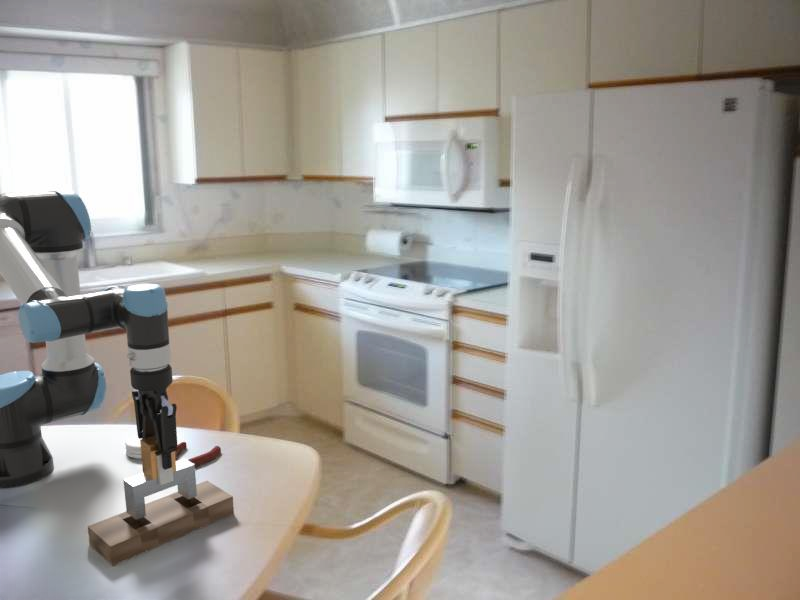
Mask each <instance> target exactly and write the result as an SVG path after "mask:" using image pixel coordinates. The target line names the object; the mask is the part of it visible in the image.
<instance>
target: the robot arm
mask: <svg viewBox="0 0 800 600" xmlns="http://www.w3.org/2000/svg"><path fill="white" fill-rule="evenodd" d="M91 231H92V224H91V218H90V215H89V211H88V208H87V206H86V205H85V202H84V200H83V199H82V197H81V196H80V195H79V194H77V192H75V191H73V190H66V189H63V190H62V189H61V190H59V189H50V190H38V191H37V190H35V191H25V192H5V193H0V275H1V276H2V278H3V280H4V282H5V283H6V284H7V286H9V289H11V291H12V293H13V294H14V296H15V297H16V299H17V300H18V302H19V304H20V307H19V310H18V323H19V327H20V329H21V332H22V336H23V337H24V339H25V340H26V341H27V342H29V343H32V344H35V343H37V344H38V343H42V342H43V343H44V342H45V348H46V356H47V358H45V360H43V362H42V363H41V367H40V368H41V374H38V375H35V374H34V373H33V372H32V371H30V370H18V371H15V370H14V371H10V372H6V373H3V374H0V488H1V489H3V488H4V489H6V488H15V487H20V486H24V485H29V484H32V483H34V482H36V481H39V480H41V479H43V478H45V477H47V476H48V475H49V474H50V473H51V472H52V471H53V470H54V468H55V467H54V466H55V464H54V457H53V455H52V454H51V451H50V449H49V448H48V445H47V444H46V442H45V440H44V438H43V436H42V426H43V425H47V424H51V423H55V422H59V421H62V420H65V419H70V418H74V417H78V416H84V415H86V414H89V413H91V412H94V411H95V412H96V411H97V410H98V409H100V408H101V406H102V405H103V404H104V401H105V400H106V395H107V379H106V376H105V372H104V369H103V367H102V366H101V365H100V364H99V363H98V362H95V359H94V357H93V356H92V355H90V354H89V353H87V345H86V343H87V342H86V335H87V334H93V333H98V332H105V331H108V330H113V329H120V328H121V329H123V330H126V341H127V342H126V343H127V348H128V349H127V350H128V353H126V357H127V359H129V360H128V361H129V366H130V367H131V368H130V370H129V373H130V384H131V387H132V388H133V389H134V390H132V391H131V397H132V400H133V404H134V405H133V406H134V413H135V422H136V431H137V432H136V434H137V433H138V438H139V439H141V438H142V439H144V438H147V437H150V436H153V435H156V440H157V446H158V452H155V454H156V456H157V467H158V479H159V485H163V484H166V483H169V482H171V481H174V480H173V467H172V455H171V452H174V451H177V450H178V447H177V445H178V434H177V433H178V432H177V431H178V430H177V418H176V415H177V404H176V403H170V402H169V396H168V393H167V388H168V387H169V386H171V385H172V384H173V380H174V379H173V369H172V365H171V364H170V363H171V362H172V353H171V352H172V351H171V341H170V334H169V331H170V330H169V315H168V313H169V312H168V301H167V298H166V290H165V288H164V287H163V286H162V285H161V284H157V283H139V284H138V283H137V284H133V285H129V286H126V287H125V286H123V285H122V286H121V285H108V286H106V287H104V288H103V289H102V290H100V291H97V292H91V293H83V294H81V286H80V275H79V266H78V264H79V263H78V255H79V254H80V253H81V251H82V250H83V249H84V245H83V243H84V242H83V241H86V240H87V239H89V238H90V237H91Z"/></svg>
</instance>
